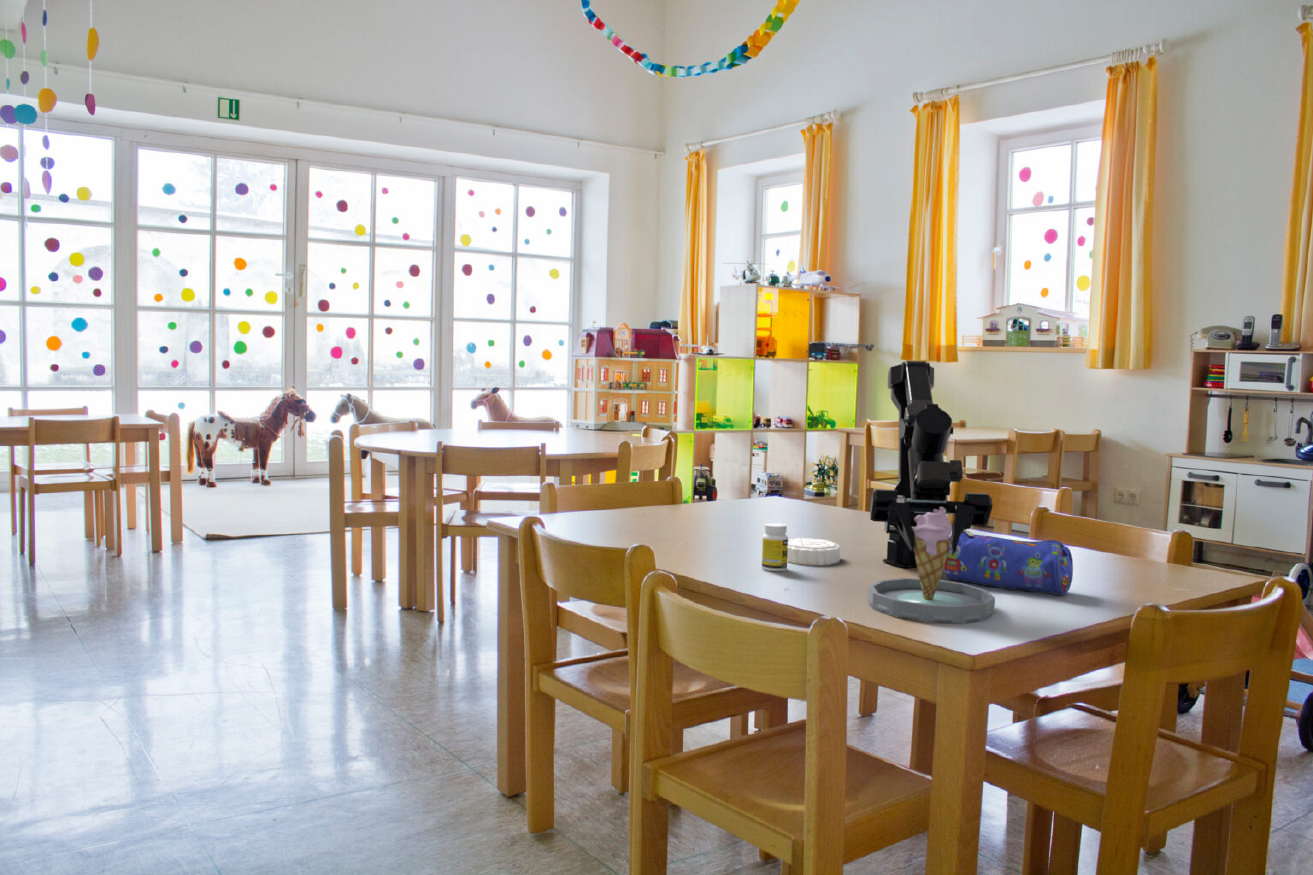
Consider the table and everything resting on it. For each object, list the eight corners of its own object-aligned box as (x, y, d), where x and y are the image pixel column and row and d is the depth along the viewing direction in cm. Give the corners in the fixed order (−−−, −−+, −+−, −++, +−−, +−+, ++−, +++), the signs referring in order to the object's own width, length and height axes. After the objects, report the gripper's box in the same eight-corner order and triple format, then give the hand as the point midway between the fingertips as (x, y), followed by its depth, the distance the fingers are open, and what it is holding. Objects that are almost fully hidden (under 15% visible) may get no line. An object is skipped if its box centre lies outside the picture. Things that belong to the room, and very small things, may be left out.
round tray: (934, 589, 167) (934, 574, 166) (1019, 615, 150) (1020, 600, 149) (844, 598, 158) (845, 583, 158) (924, 628, 141) (924, 611, 141)
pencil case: (934, 581, 173) (936, 529, 172) (950, 573, 180) (953, 523, 179) (1064, 601, 160) (1067, 544, 160) (1076, 592, 167) (1079, 538, 167)
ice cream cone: (953, 605, 151) (959, 510, 149) (913, 604, 151) (919, 509, 150) (941, 595, 157) (947, 504, 156) (903, 593, 157) (908, 502, 156)
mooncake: (844, 567, 184) (845, 548, 184) (781, 565, 185) (782, 546, 185) (835, 554, 196) (835, 537, 196) (775, 553, 197) (776, 535, 197)
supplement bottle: (786, 572, 177) (787, 527, 177) (760, 571, 178) (761, 526, 177) (787, 567, 182) (789, 523, 181) (762, 565, 183) (764, 521, 182)
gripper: (874, 440, 157) (877, 518, 147) (993, 443, 154) (1004, 523, 145) (868, 481, 166) (871, 558, 156) (981, 486, 163) (991, 564, 153)
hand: (933, 550), depth 152 cm, fingers open, 6 cm apart
